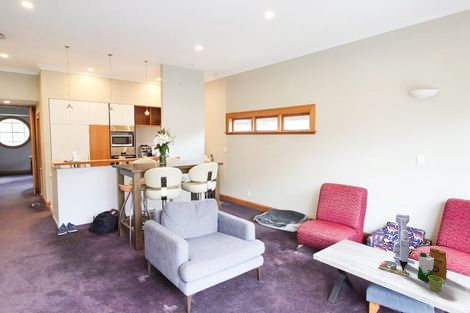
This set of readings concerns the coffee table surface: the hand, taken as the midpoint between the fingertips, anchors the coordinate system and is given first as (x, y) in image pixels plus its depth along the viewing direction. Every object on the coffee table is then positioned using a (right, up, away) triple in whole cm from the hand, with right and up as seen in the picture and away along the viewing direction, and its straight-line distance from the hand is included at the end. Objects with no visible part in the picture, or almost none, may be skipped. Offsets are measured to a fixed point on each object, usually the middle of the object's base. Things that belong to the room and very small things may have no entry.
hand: (403, 269), depth 222 cm
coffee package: (+25, -4, -3) cm, 26 cm away
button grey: (-5, -1, +5) cm, 7 cm away
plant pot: (+9, -5, -23) cm, 25 cm away
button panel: (-5, -3, +5) cm, 8 cm away
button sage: (0, -3, 0) cm, 3 cm away
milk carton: (+12, -4, -8) cm, 15 cm away
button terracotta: (-11, -1, +9) cm, 14 cm away
